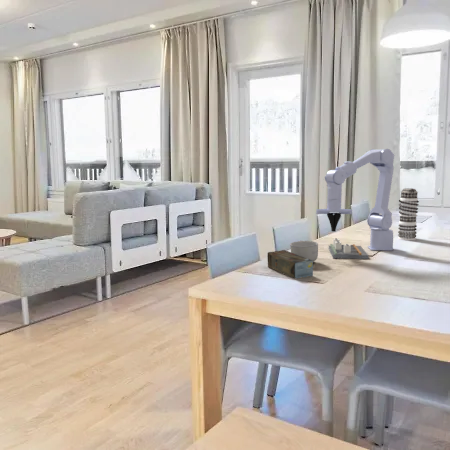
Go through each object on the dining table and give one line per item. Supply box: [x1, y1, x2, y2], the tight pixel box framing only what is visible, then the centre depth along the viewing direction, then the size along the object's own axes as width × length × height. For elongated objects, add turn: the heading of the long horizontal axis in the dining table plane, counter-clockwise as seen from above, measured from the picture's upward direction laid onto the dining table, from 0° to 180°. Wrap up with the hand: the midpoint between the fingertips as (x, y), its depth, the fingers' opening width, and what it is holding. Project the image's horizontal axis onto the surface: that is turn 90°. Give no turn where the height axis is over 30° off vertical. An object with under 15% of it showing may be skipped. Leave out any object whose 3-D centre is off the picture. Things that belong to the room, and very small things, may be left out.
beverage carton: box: [267, 249, 314, 279], centre depth 168 cm, size 8×19×7 cm, turn 25°
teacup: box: [289, 240, 319, 263], centre depth 182 cm, size 14×11×8 cm
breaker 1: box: [332, 237, 341, 247], centre depth 204 cm, size 2×4×3 cm, turn 173°
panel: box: [327, 243, 369, 260], centre depth 197 cm, size 14×20×2 cm
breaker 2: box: [335, 241, 342, 250], centre depth 197 cm, size 2×4×3 cm, turn 173°
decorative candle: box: [397, 187, 420, 241], centre depth 228 cm, size 9×9×25 cm
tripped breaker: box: [343, 243, 351, 253], centre depth 190 cm, size 2×4×3 cm, turn 173°
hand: (333, 231), depth 194 cm, fingers closed
